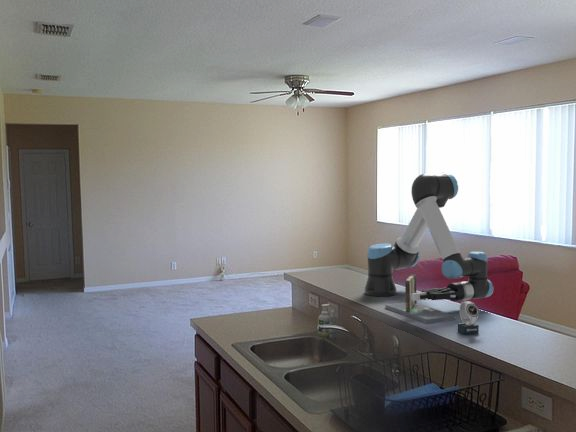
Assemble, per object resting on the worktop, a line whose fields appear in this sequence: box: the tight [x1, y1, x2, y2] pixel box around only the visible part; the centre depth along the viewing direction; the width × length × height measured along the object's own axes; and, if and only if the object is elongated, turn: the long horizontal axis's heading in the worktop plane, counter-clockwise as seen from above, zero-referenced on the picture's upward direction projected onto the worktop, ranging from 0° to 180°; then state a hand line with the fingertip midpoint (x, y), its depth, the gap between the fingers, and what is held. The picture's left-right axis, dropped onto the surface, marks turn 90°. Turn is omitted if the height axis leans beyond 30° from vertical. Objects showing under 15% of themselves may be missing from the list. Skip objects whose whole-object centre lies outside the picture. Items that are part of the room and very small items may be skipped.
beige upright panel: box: [404, 274, 417, 311], centre depth 222 cm, size 15×3×12 cm, turn 158°
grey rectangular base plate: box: [385, 301, 456, 324], centre depth 219 cm, size 28×13×2 cm, turn 23°
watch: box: [457, 300, 480, 336], centre depth 190 cm, size 6×8×11 cm
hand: (411, 297), depth 215 cm, fingers closed
